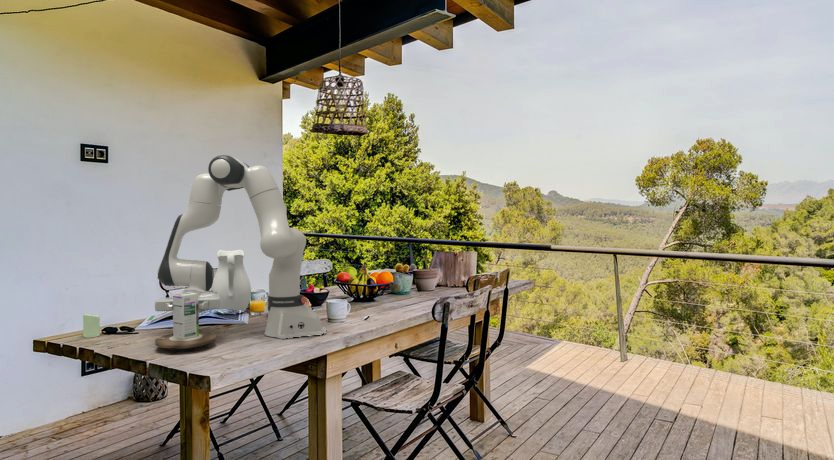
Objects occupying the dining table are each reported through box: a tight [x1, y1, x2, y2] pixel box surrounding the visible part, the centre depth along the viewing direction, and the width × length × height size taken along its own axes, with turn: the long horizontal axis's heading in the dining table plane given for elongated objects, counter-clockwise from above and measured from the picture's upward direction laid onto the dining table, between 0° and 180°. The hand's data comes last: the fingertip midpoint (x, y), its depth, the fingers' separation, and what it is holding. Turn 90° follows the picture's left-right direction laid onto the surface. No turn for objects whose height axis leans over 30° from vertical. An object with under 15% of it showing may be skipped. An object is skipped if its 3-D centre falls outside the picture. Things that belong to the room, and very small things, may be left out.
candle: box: [82, 313, 101, 339], centre depth 181 cm, size 5×5×8 cm
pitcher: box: [210, 249, 252, 312], centre depth 222 cm, size 24×17×28 cm
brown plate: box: [154, 330, 217, 349], centre depth 166 cm, size 18×18×1 cm
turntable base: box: [168, 345, 204, 352], centre depth 166 cm, size 10×10×2 cm
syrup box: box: [172, 292, 200, 340], centre depth 166 cm, size 6×6×14 cm
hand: (185, 307), depth 165 cm, fingers open, 8 cm apart
